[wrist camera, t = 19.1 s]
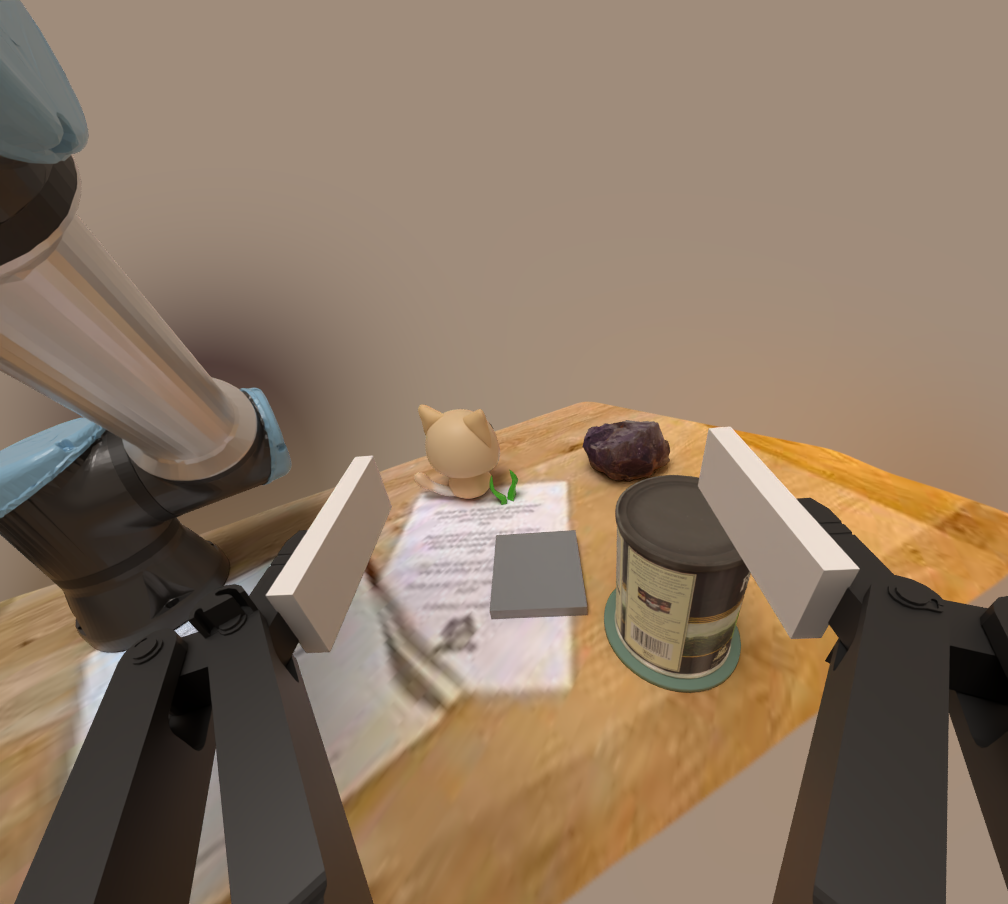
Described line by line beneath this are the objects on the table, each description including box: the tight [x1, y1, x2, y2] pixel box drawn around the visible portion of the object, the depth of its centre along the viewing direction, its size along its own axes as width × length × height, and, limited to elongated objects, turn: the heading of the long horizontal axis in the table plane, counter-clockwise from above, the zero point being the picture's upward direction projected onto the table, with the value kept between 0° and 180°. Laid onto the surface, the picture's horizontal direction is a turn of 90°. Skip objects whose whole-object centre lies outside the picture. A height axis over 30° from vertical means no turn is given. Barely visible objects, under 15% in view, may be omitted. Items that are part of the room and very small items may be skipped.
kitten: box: [414, 405, 518, 505], centre depth 57 cm, size 15×10×15 cm, turn 67°
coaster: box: [604, 589, 741, 693], centre depth 37 cm, size 12×12×1 cm
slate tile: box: [490, 530, 587, 619], centre depth 45 cm, size 2×10×11 cm
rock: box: [583, 420, 670, 481], centre depth 57 cm, size 12×9×10 cm
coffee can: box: [615, 475, 750, 679], centre depth 33 cm, size 10×10×14 cm
